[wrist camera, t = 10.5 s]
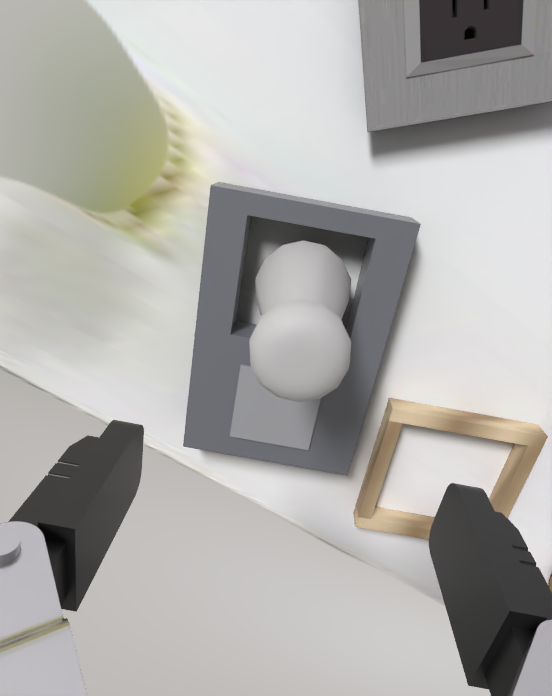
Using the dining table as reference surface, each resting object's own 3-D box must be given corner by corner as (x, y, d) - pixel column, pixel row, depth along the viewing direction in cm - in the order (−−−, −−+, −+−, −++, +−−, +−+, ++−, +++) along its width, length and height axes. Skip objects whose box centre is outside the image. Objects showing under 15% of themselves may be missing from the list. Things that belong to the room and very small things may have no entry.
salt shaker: (358, 246, 29) (394, 314, 17) (334, 328, 32) (351, 438, 20) (268, 224, 29) (242, 279, 17) (250, 308, 31) (216, 408, 19)
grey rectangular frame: (411, 217, 28) (421, 224, 26) (344, 454, 36) (347, 477, 33) (218, 182, 28) (210, 185, 26) (191, 427, 35) (182, 448, 33)
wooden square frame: (537, 424, 33) (547, 436, 32) (484, 536, 38) (491, 550, 37) (389, 397, 33) (392, 408, 32) (353, 512, 38) (355, 526, 36)
